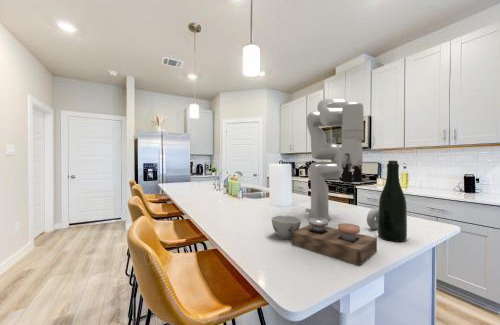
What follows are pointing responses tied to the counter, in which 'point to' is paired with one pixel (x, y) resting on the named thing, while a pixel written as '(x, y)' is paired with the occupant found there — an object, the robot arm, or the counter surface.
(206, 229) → the counter surface
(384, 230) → the dark green wine bottle
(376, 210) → the donut
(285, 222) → the teacup
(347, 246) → the block
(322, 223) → the button
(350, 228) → the button
